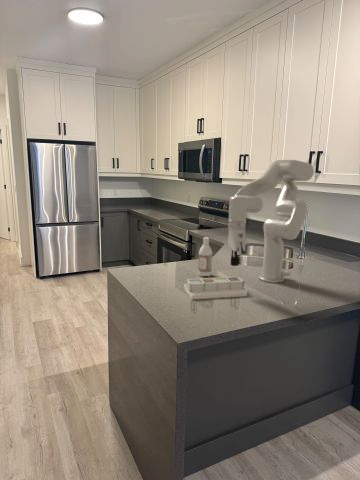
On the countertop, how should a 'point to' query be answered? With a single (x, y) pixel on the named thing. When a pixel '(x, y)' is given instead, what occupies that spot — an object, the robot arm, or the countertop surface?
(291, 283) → the countertop surface
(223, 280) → the key
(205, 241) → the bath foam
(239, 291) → the white compartment tray
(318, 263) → the countertop surface
